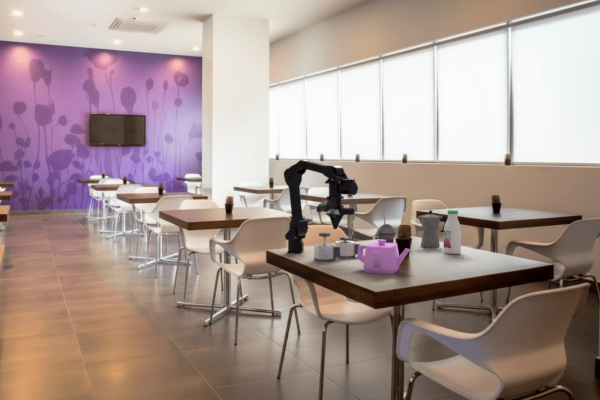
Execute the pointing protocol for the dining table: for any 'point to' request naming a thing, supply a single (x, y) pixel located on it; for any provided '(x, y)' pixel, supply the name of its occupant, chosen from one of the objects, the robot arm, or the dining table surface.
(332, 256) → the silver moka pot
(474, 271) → the dining table surface
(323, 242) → the steel plunger
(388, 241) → the beverage cup
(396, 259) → the teakettle
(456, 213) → the milk bottle
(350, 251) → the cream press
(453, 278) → the dining table surface
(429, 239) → the coffeepot
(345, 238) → the cream plunger
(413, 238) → the dining table surface
